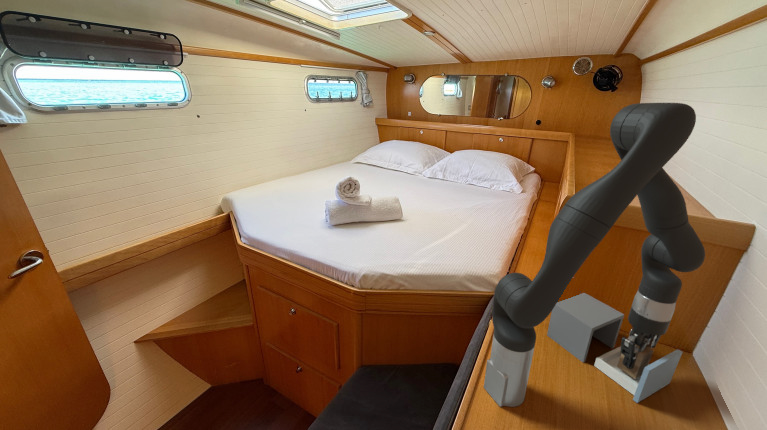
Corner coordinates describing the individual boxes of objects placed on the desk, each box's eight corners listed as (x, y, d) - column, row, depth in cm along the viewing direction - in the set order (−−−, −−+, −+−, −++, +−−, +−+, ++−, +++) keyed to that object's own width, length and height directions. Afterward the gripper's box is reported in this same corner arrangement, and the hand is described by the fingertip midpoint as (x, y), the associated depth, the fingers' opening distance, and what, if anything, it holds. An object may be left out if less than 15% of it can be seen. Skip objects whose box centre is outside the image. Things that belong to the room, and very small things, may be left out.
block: (635, 379, 78) (643, 355, 75) (617, 366, 82) (624, 343, 79) (645, 373, 79) (653, 349, 77) (627, 361, 83) (634, 338, 80)
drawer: (637, 403, 74) (649, 370, 70) (590, 367, 84) (598, 337, 80) (669, 383, 79) (682, 351, 75) (621, 351, 89) (631, 323, 85)
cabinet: (582, 362, 86) (592, 328, 81) (546, 335, 96) (553, 303, 92) (614, 347, 91) (624, 314, 86) (576, 323, 101) (584, 292, 97)
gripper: (651, 328, 68) (632, 384, 74) (686, 311, 73) (665, 365, 79) (616, 309, 75) (601, 361, 80) (650, 295, 80) (633, 345, 85)
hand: (633, 363), depth 80 cm, fingers closed on block, 4 cm apart
